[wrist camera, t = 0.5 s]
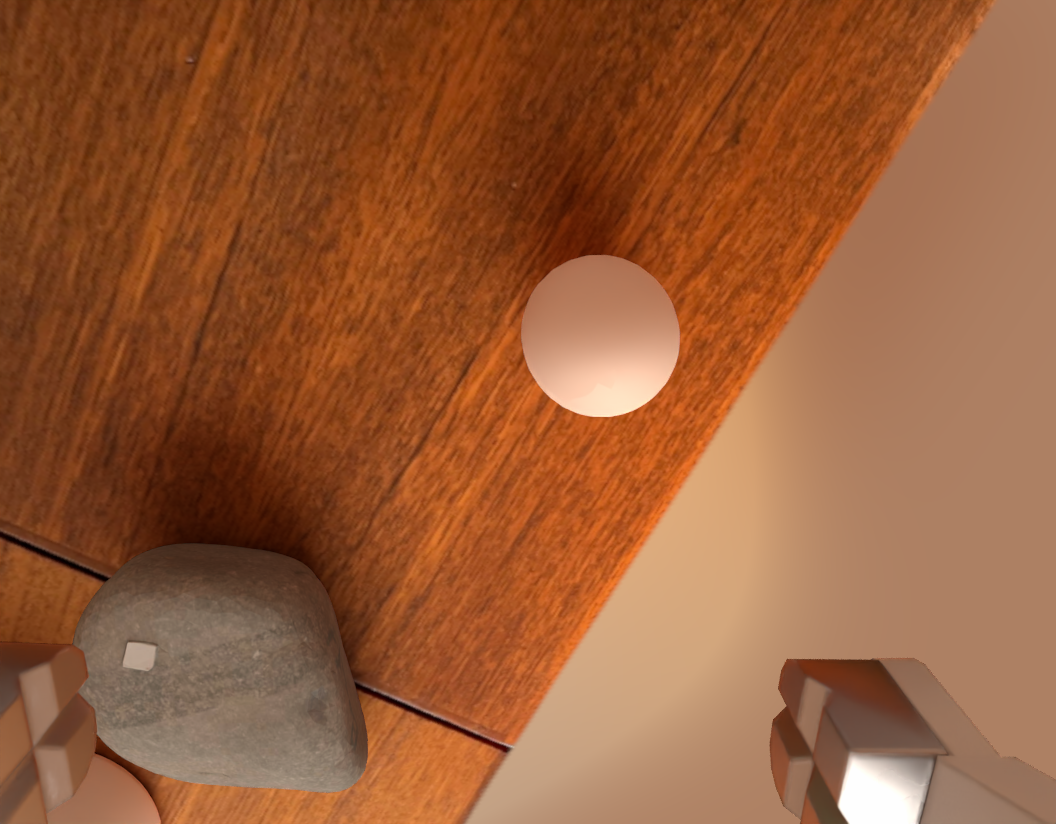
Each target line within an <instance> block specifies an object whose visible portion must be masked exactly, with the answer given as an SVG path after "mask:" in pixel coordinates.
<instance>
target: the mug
mask: <svg viewBox="0 0 1056 824" xmlns="http://www.w3.org/2000/svg"><path fill="white" fill-rule="evenodd" d="M47 820H48V824H161V820H160V817H159V813H158V810H157V808H156V806H155V803H154V801H153V800H152V798H151V797H150V795H149V793H148V792H147V790H146V789H145V788H144V786H143V785H142V784H141V783H140V782H139V781H138V780H137V779H136V778H135V777H134V776H133V775H132V774H131V773H129V772H128V771H127V770H126V769H124V768H123V767H121V766H120V765H118V764H116V763H115V762H113V761H111V760H109V759H107V758H105V757H103V756H101V755H98V754H95V753H94V755H93V758H92V761H91V764H90V767H89V770H88V773H87V776H86V777H85V779H84V780H83V782H82V783H81V785H80V787H79V788H78V790H77V791H76V793H75V794H74V796H73V797H72V798H70V799H69V800H67V801H66V802H64V803H63V804H61V805H59V806H58V807H56V808H55V809H53V810H52V811H50V812H49V813H47Z"/></svg>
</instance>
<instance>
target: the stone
mask: <svg viewBox="0 0 1056 824" xmlns="http://www.w3.org/2000/svg"><path fill="white" fill-rule="evenodd" d="M72 645H75V646H76V647H78V648H79V649H81V650H82V651H83V652H84V655H85V660H86V665H87V669H88V674H89V677H88V679H87V680H86V681H85V683H84V684H83V686H82V687H81V689H80V690H79V692H78V693H79V694H80V695H81V696H82V697H83V698H84V699H85V700H86V701H87V702H88V703H89V704H90V705H91V706H92V707H93V708H94V709H95V716H96V722H97V735H98V736H99V737H100V738H101V740H102V741H103V742H104V743H105V744H106V745H107V746H108V747H109V748H111V749H112V750H113V751H114V752H116V753H117V754H118V755H119V756H121V757H122V758H124V759H126V760H128V761H129V762H131V763H133V764H135V765H137V766H140V767H142V768H145V769H147V770H149V771H151V772H153V773H155V774H160V775H162V776H165V777H169V778H173V779H176V780H181V781H186V782H192V783H200V784H210V785H223V786H236V787H252V788H277V789H295V790H303V791H312V792H326V793H330V792H338V791H342V790H345V789H347V788H349V787H351V786H352V785H353V784H355V783H356V782H357V781H358V780H359V779H360V777H361V776H362V774H363V772H364V771H365V767H366V763H367V757H368V744H367V741H368V738H367V730H366V725H365V720H364V715H363V712H362V709H361V705H360V701H359V698H358V694H357V690H356V687H355V683H354V680H353V677H352V674H351V670H350V667H349V664H348V661H347V657H346V654H345V651H344V648H343V644H342V640H341V636H340V631H339V627H338V622H337V619H336V615H335V612H334V609H333V606H332V603H331V601H330V598H329V596H328V594H327V591H326V589H325V588H324V586H323V585H322V583H321V582H320V580H318V579H317V577H316V575H315V574H314V572H313V571H312V570H311V569H310V568H308V567H307V566H306V565H305V564H303V563H302V562H300V561H298V560H296V559H294V558H291V557H289V556H285V555H282V554H279V553H275V552H270V551H265V550H258V549H251V548H245V547H237V546H227V545H217V544H199V543H183V544H172V545H166V546H162V547H158V548H155V549H152V550H149V551H146V552H144V553H141V554H139V555H137V556H135V557H134V558H132V559H131V560H129V561H128V562H127V563H126V564H124V565H123V566H122V567H121V568H120V569H119V570H118V571H117V572H116V573H115V574H114V575H113V576H112V577H111V578H110V579H109V580H108V581H106V582H105V583H104V584H103V585H102V586H101V588H100V589H99V590H98V591H97V593H96V594H95V595H94V597H93V598H92V599H91V601H90V602H89V604H88V605H87V607H86V609H85V610H84V612H83V614H82V616H81V618H80V620H79V622H78V625H77V627H76V630H75V635H74V639H73V643H72Z"/></svg>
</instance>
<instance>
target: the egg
mask: <svg viewBox="0 0 1056 824" xmlns="http://www.w3.org/2000/svg"><path fill="white" fill-rule="evenodd" d="M521 340H522V346H523V352H524V356H525V359H526V362H527V365H528V368H529V370H530V372H531V374H532V375H533V377H534V378H535V380H536V382H537V383H538V385H539V386H540V387H541V388H542V390H543V391H544V392H545V393H546V394H547V395H548V396H549V397H550V398H551V399H553V400H554V401H556V402H557V403H558V404H560V405H561V406H563V407H564V408H567V409H569V410H571V411H573V412H576V413H578V414H582V415H587V416H591V417H611V416H616V415H621V414H625V413H628V412H630V411H633V410H635V409H637V408H639V407H640V406H642V405H644V404H646V403H647V402H648V401H650V400H651V399H652V398H653V397H654V396H655V395H656V394H657V393H658V392H659V391H660V390H661V389H662V387H663V386H664V385H665V384H666V383H667V381H668V379H669V377H670V375H671V373H672V371H673V369H674V367H675V365H676V361H677V357H678V354H679V341H680V330H679V324H678V319H677V316H676V313H675V310H674V307H673V304H672V302H671V300H670V298H669V296H668V295H667V293H666V291H665V290H664V288H663V287H662V286H661V285H660V284H659V282H658V281H657V280H656V279H655V278H654V277H653V276H651V275H650V274H649V273H648V272H646V271H645V270H644V269H643V268H641V267H640V266H639V265H637V264H634V263H632V262H630V261H628V260H626V259H623V258H619V257H614V256H610V255H587V256H583V257H580V258H576V259H572V260H569V261H567V262H565V263H563V264H562V265H560V266H558V267H556V268H555V269H553V270H552V271H551V272H550V273H549V274H548V275H547V276H546V277H545V278H544V279H543V280H542V281H541V282H540V283H539V284H538V285H537V286H536V288H535V289H534V291H533V292H532V294H531V296H530V298H529V301H528V303H527V305H526V308H525V311H524V316H523V320H522V332H521Z"/></svg>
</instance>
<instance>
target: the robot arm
mask: <svg viewBox="0 0 1056 824" xmlns="http://www.w3.org/2000/svg"><path fill="white" fill-rule="evenodd" d="M88 677H89V674H88V669H87V665H86V660H85V655H84V652H83V651H82V650H81V649H79V648H78V647H76V646H75V645H71V644H47V643H22V642H0V824H48V820H47V813H49V812H50V811H52V810H53V809H55V808H56V807H58V806H59V805H61V804H63V803H64V802H66V801H67V800H69V799H70V798H72V797H73V796H74V794H75V793H76V791H77V790H78V788H79V787H80V785H81V783H82V782H83V780H84V779H85V777H86V776H87V773H88V770H89V767H90V764H91V761H92V758H93V755H94V752H95V749H96V738H97V722H96V716H95V709H94V708H93V707H92V706H91V705H90V704H89V703H88V702H87V701H86V700H85V699H84V698H83V697H82V696H81V695H80V694H79V693H78V692H79V690H80V689H81V687H82V686H83V684H84V683H85V681H86V680H87V679H88ZM778 689H779V691H780V693H781V695H782V697H783V699H784V702H785V704H786V705H787V706H786V707H785V708H784V709H783V710H782V711H781V712H780V713H779V714H778V715H777V716H776V717H775V718H774V719H773V723H772V730H771V738H770V757H771V770H772V774H773V778H774V782H775V786H776V789H777V792H778V794H779V796H780V799H781V801H782V804H783V806H784V807H785V808H786V809H788V810H789V811H790V812H791V813H793V814H794V815H795V816H796V817H798V818H799V819H800V820H801V822H800V824H1056V780H1055V779H1054V778H1052V777H1050V776H1048V775H1046V774H1045V773H1043V772H1041V771H1039V770H1038V769H1036V768H1034V767H1032V766H1030V765H1029V764H1027V763H1025V762H1023V761H1022V760H1020V759H1018V758H1016V757H1001V756H1000V755H999V753H998V752H997V751H996V750H995V749H994V747H993V746H992V745H991V744H990V743H989V741H988V740H987V739H986V738H985V737H984V735H983V734H982V733H981V732H980V731H979V729H978V728H977V727H976V726H975V724H974V723H973V722H972V721H971V720H970V718H969V717H968V716H967V715H966V714H965V712H964V711H963V710H962V709H961V707H960V706H959V705H958V704H957V703H956V701H955V700H954V699H953V698H952V697H951V695H950V694H949V693H948V692H947V691H946V689H945V688H944V687H943V686H942V685H941V683H940V682H939V681H938V680H937V678H936V677H935V676H934V675H933V674H932V672H931V671H930V670H929V669H928V668H927V666H926V665H925V664H924V663H922V662H920V661H918V660H916V659H914V658H881V659H880V658H879V659H871V660H836V659H835V660H834V659H828V660H827V659H822V660H821V659H787V660H786V662H785V664H784V666H783V668H782V670H781V675H780V681H779V686H778Z"/></svg>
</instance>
